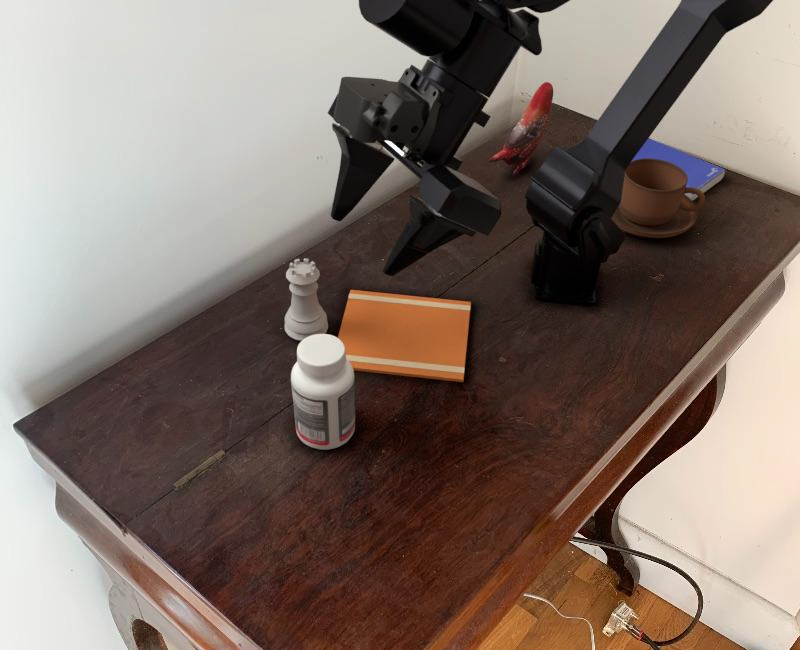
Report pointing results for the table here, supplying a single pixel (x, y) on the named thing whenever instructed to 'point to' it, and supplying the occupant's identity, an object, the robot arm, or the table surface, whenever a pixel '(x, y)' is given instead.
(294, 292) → the rook chess piece
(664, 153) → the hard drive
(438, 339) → the towel
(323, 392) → the pill bottle
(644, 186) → the cup and saucer
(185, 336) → the table surface
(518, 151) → the decorative bird figurine
